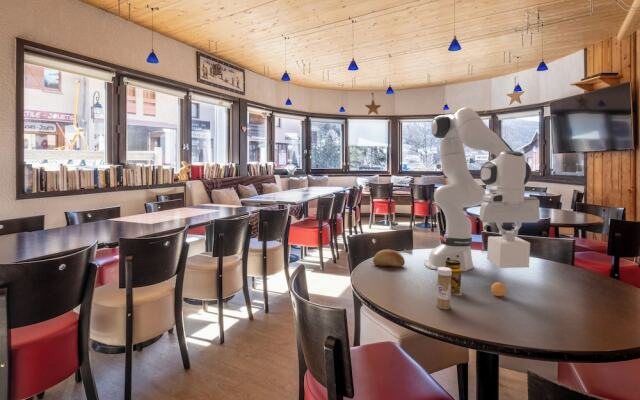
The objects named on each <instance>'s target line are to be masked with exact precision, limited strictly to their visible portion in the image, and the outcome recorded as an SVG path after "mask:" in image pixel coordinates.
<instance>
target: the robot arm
mask: <svg viewBox="0 0 640 400" xmlns="http://www.w3.org/2000/svg"><path fill="white" fill-rule="evenodd" d="M430 127H431V128H430V129H431V133H432V135H433V136H434V138H437V139H440V141H439V153H440V154H439V155H440V160H441V167H442V172H443V175H444V176H445V177H446V178H448V179H449V180H450V181H451V182H452V183H451V184H444V185H443V184H442V185H441V186H438V187H436V189H435V190H434V193H433V200H434V202H435V204H436V206H438V207H439V208H440V209H441V210H442V212H443V214H444V216H445V225H446V226H445V229H446V230H445V233H446V234H445V235H444V236H443V235H440V236H439V237H438V240H440V241H441V244H439V245H437V246H436V247H435V248H433V249H432V250H431V251H430V252H429V255H428V259H425V260H424V261H423V264H424V266H425V267H426V268H427V269H431V270H436V271H437V270H438V268H439V267H445V264H446V260H458V261H460V268H461V272H468V271H469V270H471V269H474V267H475V266H474V262H473V258H472V257H473V256H472V247H473V238H472V220H471V219H470V218H469V217H468V216H466V215H465V213H464V208H474V207H477V206H480V209H479V217H478V219H479V220H480V222H483V223H495V225H496V227H497V229H498V234H499V235H501V236H502V235H505V232H506V231H507V230H506V229H504V228H503V227H502V226H504V223H514V225H515V227H514V228H511V231H513V232H515V236H517V235H518V234H519V230H520V229H521V228H522V224H523V223H526V224H528V223H529V224H531V223H538V222H539V221H540V219H541V216H540V215H541V214H540V200H539V198H537V197H536V196H525V194H526V193H525V192H526V191H525V189H526V187H525V185H526V184H527V183H528V182H529V181H530V179H531V178H532V169H531V168H532V167H531V166H530V165H529V163H528V162H527V161H526V157H525V154H524V153H523V152H520V151H517V150H516V151H515V150H513V148H512V147H511V146H510V145H509V144H508V143H507V142H506V140H504V139H503V138H502V137H501V136H499V135H498V134H497V133H495V132H494V131H493V130H492V129H491V128H489V127H488V126H487V125H486V123H485V121H483V119H482V118H481V116H480V115H479V114H478V113H477V112H476V111H475V110H474V109H472V108H470V107H463V108H459V110H457V111H456V112H455V113H449V114H441V115H437V116H435V117H434V118H433V119H432V121H431V124H430ZM464 146H465V147H468V148H470V149H473V150H479V151H485V152H488V153H491V154H493V155H495V156H496V157H495V158H494V159H491V160H489V161H485V162H484V163H483V164H482V166H481V168H480V170H479V177H480V178H479V179H480V180H481V182H482V183H483V184H484V185H486V186H491V187H496V190H495V191H492V192H490V193H487V192H486V190H485V189H484V187H483V186H482V185H480V184H479V183H478V182H477V181H476V180H475V179H474V177H473V176H472V174H471V172H470V170H469V166H468V162H467V158H466V153H465V149H464Z"/></svg>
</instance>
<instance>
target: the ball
mask: <svg viewBox="0 0 640 400" xmlns="http://www.w3.org/2000/svg"><path fill="white" fill-rule="evenodd" d="M490 290H491V293H492V294H493V295H495V297H503V296H504V295H505V294H506V292H507V287H506V286H505V284H503V283H502V282H499V281H497V282H494V283H493V284H492V285H491V287H490Z"/></svg>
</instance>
